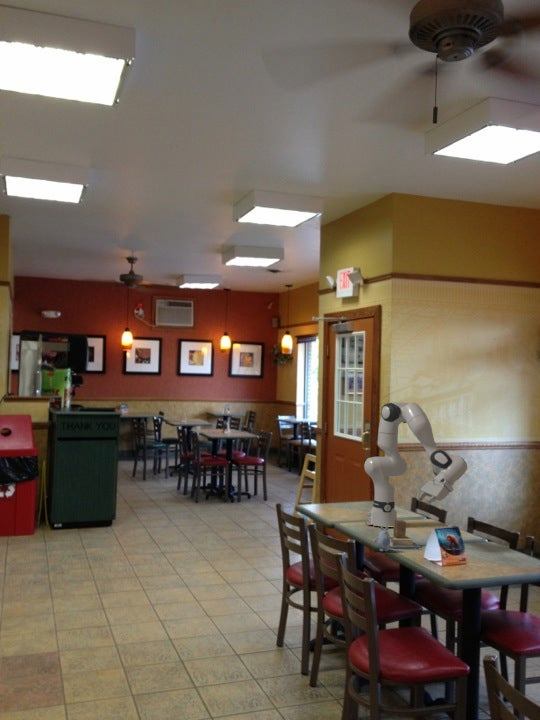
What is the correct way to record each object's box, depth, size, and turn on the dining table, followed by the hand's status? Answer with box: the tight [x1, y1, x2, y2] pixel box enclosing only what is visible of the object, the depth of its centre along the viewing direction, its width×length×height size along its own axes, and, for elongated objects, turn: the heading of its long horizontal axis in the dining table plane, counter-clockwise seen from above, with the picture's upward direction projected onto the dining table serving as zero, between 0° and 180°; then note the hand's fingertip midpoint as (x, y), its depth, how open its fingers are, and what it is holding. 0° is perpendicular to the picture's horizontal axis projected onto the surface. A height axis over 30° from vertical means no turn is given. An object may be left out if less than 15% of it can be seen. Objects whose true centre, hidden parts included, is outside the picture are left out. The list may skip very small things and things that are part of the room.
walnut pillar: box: [392, 519, 407, 539], centre depth 330 cm, size 4×4×8 cm
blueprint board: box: [389, 541, 423, 550], centre depth 330 cm, size 16×16×1 cm
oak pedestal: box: [389, 534, 414, 546], centre depth 329 cm, size 10×10×3 cm
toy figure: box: [373, 526, 394, 552], centre depth 316 cm, size 11×6×12 cm, turn 101°
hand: (423, 501), depth 332 cm, fingers open, 8 cm apart
